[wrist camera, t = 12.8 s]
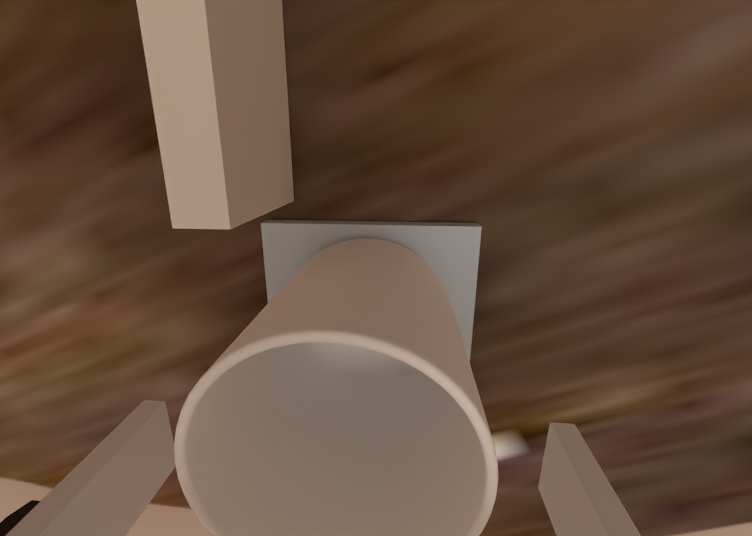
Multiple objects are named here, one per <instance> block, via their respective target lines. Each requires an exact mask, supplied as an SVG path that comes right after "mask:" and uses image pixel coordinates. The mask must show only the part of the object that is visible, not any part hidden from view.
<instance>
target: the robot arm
mask: <svg viewBox="0 0 752 536" xmlns="http://www.w3.org/2000/svg"><path fill="white" fill-rule="evenodd" d="M175 466H176V465H175V453H174V442H173V437H172V432H171V428H170V423H169V418H168V413H167V408H166V404H165V401H151V400H144V401H143V402H142V403H141V404H140V405H139V406H138V407H137V408H136V409H135V410H134V411H133V412H132V413H131V414H130V415H129V416H128V417H126V418H125V419H124V420H123V421H122V422H121V423H120V424H119V425H118V426H117V427H116V428H115V429H114V430H113V431H112V432H111V433H110V434H109V435H108V436H107V437H106V438H105V439H104V440H103V441H102V442H101V443H100V444H99V445H98V446H97V447H96V448H95V449H94V450H93V451H92V452H91V453H90V454H89V455H88V456H87V457H85V458H84V459H83V460H82V461H81V462H80V463H79V464H78V465H77V466H76V467H75V468H74V469H73V470H72V471H71V472H70V473H69V474H68V475H67V476H66V477H65V478H64V479H63V480H62V481H61V482H60V483H59V484H58V485H57V486H56V487H55V488H54V489H53V490H52V491H51V492H50V493H49V494H48V495H47V496H45V497H44V498H43V499H42V500H41V501H34V500H32V501H30V502H29V503H27V504H26V505H24V506H23V507H21V508H20V509H18V510H17V511H15V512H14V513H12V514H11V515H9V516H8V517H6V518H5V519H4V520H3V521H2V522H1V523H0V536H126V534H127V533H128V532H129V530H130V529H131V527H132V526H133V524H134V523H135V522H136V520H137V519H138V518H139V516H140V515H141V513H142V512H143V511H144V509H145V508H146V506H147V505H148V504H149V502H150V501H151V500H152V498H153V497H154V495H155V494H156V493H157V491H158V490H159V488H160V487H161V486H162V484H163V483H164V482H165V480H166V479H167V477H168V476H169V475H170V473H171V472H172V470H173V469H174V468H175ZM538 488H539V491H540V493H541V496H542V498H543V501H544V504H545V506H546V509H547V512H548V514H549V517H550V519H551V522H552V525H553V527H554V530H555V533H556V535H557V536H641V535H640V533H639V532H638V530H637V528H636V527H635V525H634V523H633V522H632V520H631V518H630V517H629V515H628V513H627V512H626V510H625V508H624V507H623V505H622V503H621V502H620V500H619V498H618V496H617V495H616V493H615V491H614V490H613V488H612V486H611V485H610V483H609V481H608V480H607V478H606V476H605V475H604V473H603V471H602V470H601V468H600V466H599V465H598V463H597V461H596V460H595V458H594V456H593V454H592V453H591V451H590V449H589V448H588V446H587V444H586V443H585V441H584V439H583V438H582V436H581V434H580V433H579V431H578V429H577V428H576V426H575V424H567V423H550V425H549V431H548V436H547V442H546V447H545V453H544V458H543V464H542V470H541V475H540V481H539V486H538Z"/></svg>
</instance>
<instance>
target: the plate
mask: <svg viewBox="0 0 752 536" xmlns="http://www.w3.org/2000/svg"><path fill="white" fill-rule="evenodd" d="M481 228H482V227H481V226H480V225H479V224H478V223H446V222H384V221H323V220H266V221H264V222H262V223H261V231H262V243H263V254H264V265H265V277H266V288H267V299H268V303H269V302H270V301H271V300H272V298H273V297H274V296H275V295H276V294H277V293H278V292H279V291H280V290H281V288H282V287H283V286H284V285H285V284H286V283H287V282H288V281H289V280H290V278H291V277H292V276H293V275H294V274H295V273H296V272H297V271H298V270H299V269H300V268H301V267H302V266H303V265H304V264H305V263H306V262H307V261H308V260H309V259H310V258H312V257H313V256H314V255H316V254H317V253H318V252H320V251H322V250H323V249H325V248H327V247H329V246H332V245H334V244H337V243H340V242H344V241H348V240H353V239H379V240H385V241H389V242H392V243H396V244H398V245H400V246H403V247H405V248H407V249H409V250H410V251H412V252H414V253H415V254H417V255H418V256H419V257H421V258H422V259H423V260H424V261H426V262H427V263H428V264H429V265H430V267H431V268H432V269H433V270H434V271H435V272H436V274H437V275H438V276H439V278H440V279H441V281H442V283H443V285H444V286H445V288H446V290H447V293H448V296H449V298H450V301H451V304H452V307H453V310H454V313H455V317H456V320H457V323H458V327H459V330H460V333H461V337H462V340H463V343H464V346H465V350H466V353H467V356H468V360H469V363H470V354H471V343H472V331H473V320H474V308H475V297H476V286H477V274H478V263H479V251H480V240H481Z"/></svg>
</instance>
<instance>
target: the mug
mask: <svg viewBox="0 0 752 536" xmlns="http://www.w3.org/2000/svg"><path fill="white" fill-rule="evenodd" d="M174 453H175V465H176V470H177V475H178V479H179V482H180V485H181V488H182V490H183V493H184V495H185V497H186V499H187V501H188V503H189V505H190V507H191V509H192V510H193V512H194V513H195V514H196V516H197V518H198V519H199V521H200V522H201V523H202V525H203V526H204V527H205V528H206V529H207V530H208V532H209V533H210V534H211V535H212V536H479V535H480V534H481V532H482V531H483V529H484V527H485V525H486V523H487V521H488V519H489V517H490V515H491V512H492V508H493V505H494V502H495V498H496V493H497V485H498V462H497V456H496V452H495V447H494V442H493V439H492V436H491V432H490V429H489V426H488V423H487V419H486V416H485V413H484V409H483V406H482V403H481V399H480V396H479V393H478V389H477V386H476V383H475V380H474V376H473V373H472V370H471V366H470V363H469V360H468V356H467V353H466V350H465V346H464V343H463V340H462V337H461V333H460V330H459V327H458V323H457V320H456V317H455V313H454V310H453V307H452V304H451V301H450V298H449V296H448V293H447V290H446V288H445V286H444V285H443V283H442V281H441V279H440V278H439V276H438V275H437V274H436V272H435V271H434V270H433V269H432V268H431V267H430V265H429V264H428V263H427V262H426V261H424V260H423V259H422V258H421V257H419V256H418V255H417V254H415V253H414V252H412V251H410V250H409V249H407V248H405V247H403V246H400V245H398V244H396V243H392V242H389V241H385V240H379V239H353V240H348V241H344V242H340V243H337V244H334V245H332V246H329V247H327V248H325V249H323V250H322V251H320V252H318V253H317V254H316V255H314V256H313V257H312V258H310V259H309V260H308V261H307V262H306V263H305V264H304V265H303V266H302V267H301V268H300V269H299V270H298V271H297V272H296V273H295V274H294V275H293V276H292V277H291V278H290V280H289V281H288V282H287V283H286V284H285V285H284V286H283V287H282V288H281V290H280V291H279V292H278V293H277V294H276V295H275V296H274V297H273V298H272V300H271V301H270V302H269V303H268V304H267V305H266V306H265V307H264V308H263V309H262V311H261V312H260V313H259V314H258V315H257V316H256V317H255V318H254V319H253V321H252V322H251V323H250V324H249V325H248V326H247V327H246V328H245V329H244V330H243V332H242V333H241V334H240V335H239V336H238V337H237V338H236V339H235V340H234V342H233V343H232V344H231V345H230V346H229V347H228V348H227V349H226V350H225V352H224V353H223V354H222V355H221V356H220V357H219V358H218V359H217V360H216V361H215V363H214V364H213V365H212V366H211V367H210V368H209V369H208V370H207V371H206V373H205V374H204V375H203V376H202V377H201V378H200V379H199V381H198V382H197V383H196V385H195V386H194V388H193V389H192V390H191V392H190V393H189V395H188V397H187V399H186V401H185V403H184V405H183V407H182V410H181V413H180V416H179V420H178V423H177V427H176V434H175V442H174Z"/></svg>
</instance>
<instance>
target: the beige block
mask: <svg viewBox="0 0 752 536" xmlns="http://www.w3.org/2000/svg"><path fill="white" fill-rule="evenodd" d="M136 3H137V9H138V15H139V22H140V28H141V34H142V40H143V47H144V53H145V59H146V66H147V72H148V78H149V84H150V91H151V97H152V103H153V109H154V116H155V122H156V128H157V134H158V141H159V147H160V153H161V160H162V166H163V172H164V178H165V185H166V191H167V197H168V203H169V210H170V216H171V222H172V228H177V229H233V228H235V227H237V226H239V225H242V224H244V223H246V222H248V221H251V220H253V219H255V218H257V217H259V216H262V215H264V214H266V213H268V212H271V211H273V210H275V209H277V208H280V207H282V206H284V205H286V204H289V203H291V202H293V201H294V190H293V173H292V157H291V141H290V124H289V108H288V91H287V75H286V59H285V42H284V26H283V9H282V0H136Z"/></svg>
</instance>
